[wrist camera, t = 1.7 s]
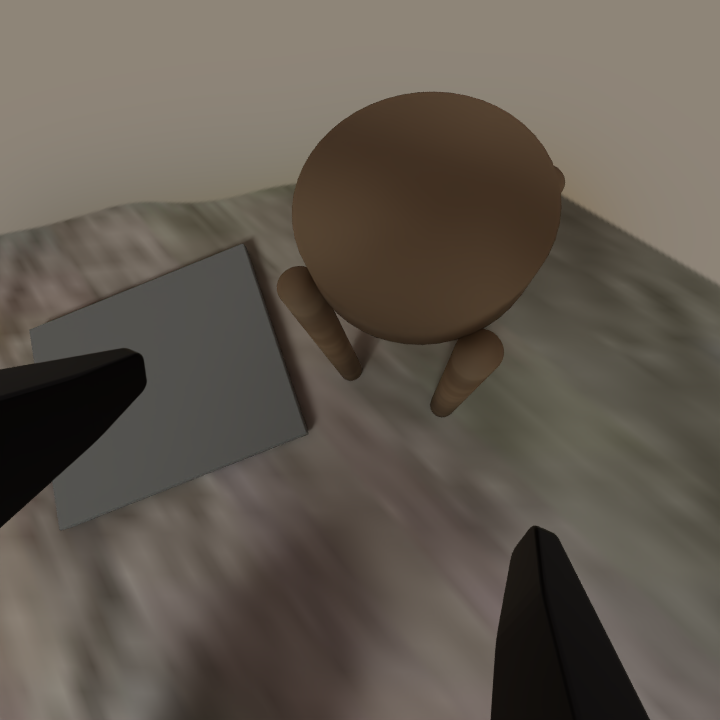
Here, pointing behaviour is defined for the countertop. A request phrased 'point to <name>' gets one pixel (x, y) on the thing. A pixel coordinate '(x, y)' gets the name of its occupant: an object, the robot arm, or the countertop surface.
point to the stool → (421, 231)
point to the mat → (177, 383)
